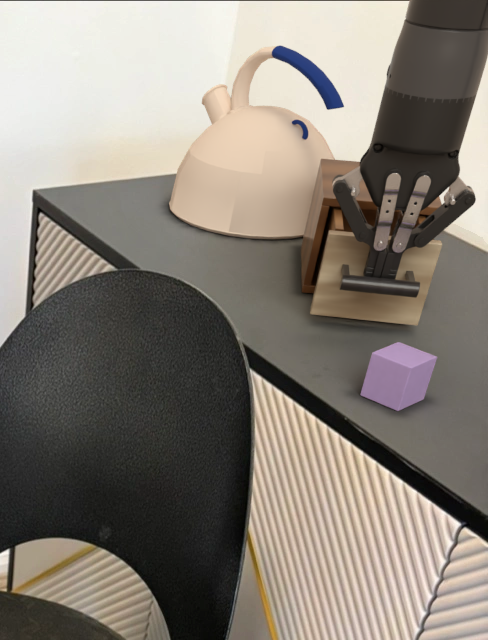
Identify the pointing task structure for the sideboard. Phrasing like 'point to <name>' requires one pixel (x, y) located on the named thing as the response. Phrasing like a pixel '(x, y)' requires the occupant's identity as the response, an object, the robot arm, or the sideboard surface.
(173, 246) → the sideboard surface
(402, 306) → the drawer
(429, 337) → the sideboard surface
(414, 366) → the purple cube
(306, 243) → the wooden nightstand
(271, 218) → the kettle
